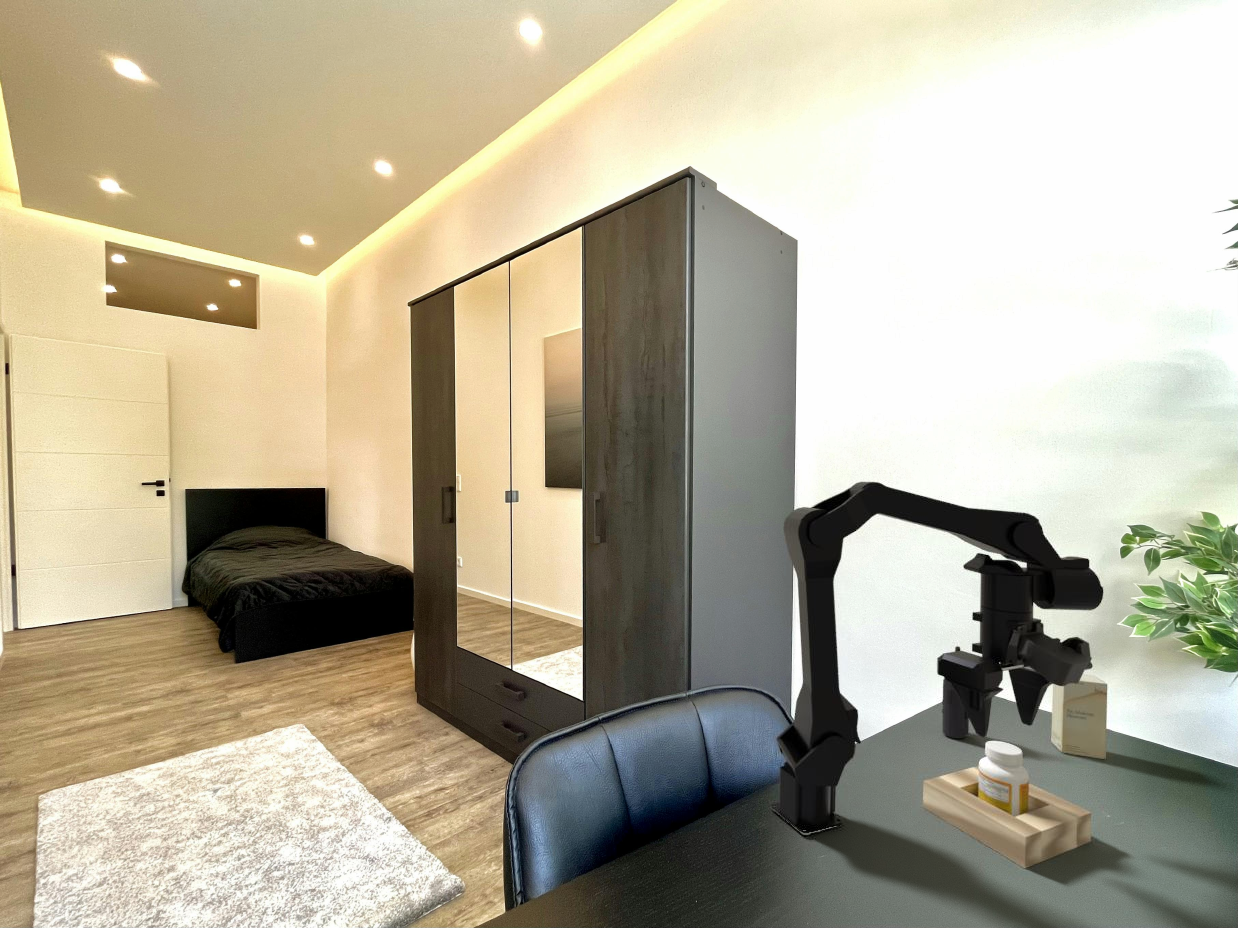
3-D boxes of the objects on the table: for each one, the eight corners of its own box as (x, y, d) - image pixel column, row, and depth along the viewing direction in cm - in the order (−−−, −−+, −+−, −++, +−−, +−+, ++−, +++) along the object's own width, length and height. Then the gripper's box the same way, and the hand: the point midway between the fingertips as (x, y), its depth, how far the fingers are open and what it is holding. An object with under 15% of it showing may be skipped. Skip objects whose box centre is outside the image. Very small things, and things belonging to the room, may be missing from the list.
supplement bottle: (1012, 813, 77) (1013, 739, 77) (1038, 838, 72) (1039, 758, 72) (969, 809, 77) (970, 736, 78) (991, 834, 72) (993, 755, 72)
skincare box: (1061, 753, 95) (1062, 678, 95) (1050, 741, 99) (1051, 669, 99) (1108, 760, 93) (1108, 683, 93) (1094, 747, 97) (1095, 674, 97)
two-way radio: (951, 727, 104) (953, 642, 104) (979, 736, 100) (980, 648, 100) (938, 735, 100) (940, 647, 100) (967, 745, 97) (968, 654, 97)
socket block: (1025, 868, 66) (1025, 836, 66) (923, 807, 78) (923, 780, 78) (1090, 841, 71) (1091, 812, 71) (986, 788, 83) (986, 763, 83)
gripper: (1027, 630, 64) (1025, 773, 63) (1121, 617, 71) (1119, 744, 71) (934, 607, 74) (933, 731, 74) (1025, 598, 82) (1024, 710, 81)
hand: (1004, 729), depth 75 cm, fingers open, 9 cm apart
